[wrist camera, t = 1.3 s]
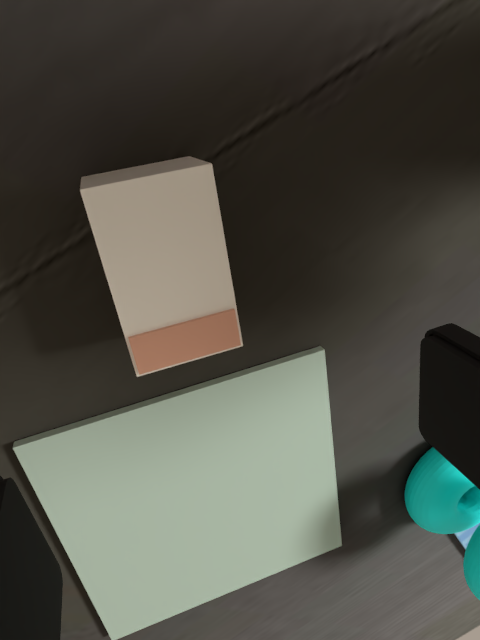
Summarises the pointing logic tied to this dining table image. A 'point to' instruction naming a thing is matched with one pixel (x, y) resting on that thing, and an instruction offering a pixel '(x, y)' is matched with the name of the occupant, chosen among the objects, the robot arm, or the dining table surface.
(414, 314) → the dining table surface
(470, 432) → the robot arm
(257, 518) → the mat
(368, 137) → the dining table surface
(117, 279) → the card deck
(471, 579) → the donuts
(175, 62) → the dining table surface
